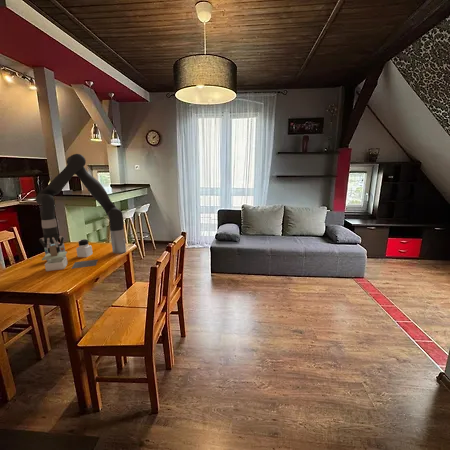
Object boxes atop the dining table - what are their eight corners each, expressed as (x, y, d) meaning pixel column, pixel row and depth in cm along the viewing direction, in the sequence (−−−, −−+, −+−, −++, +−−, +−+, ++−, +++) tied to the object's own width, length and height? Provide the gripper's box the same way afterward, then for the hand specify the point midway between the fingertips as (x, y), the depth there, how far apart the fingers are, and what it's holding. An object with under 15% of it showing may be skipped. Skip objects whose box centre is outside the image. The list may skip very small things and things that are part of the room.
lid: (67, 252, 166) (65, 242, 165) (62, 257, 156) (61, 247, 155) (47, 254, 163) (45, 244, 161) (41, 260, 153) (39, 249, 151)
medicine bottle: (92, 254, 186) (90, 238, 183) (86, 257, 179) (84, 241, 176) (83, 254, 187) (81, 238, 184) (77, 257, 180) (74, 241, 177)
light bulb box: (49, 262, 171) (46, 247, 168) (46, 260, 175) (43, 245, 172) (66, 258, 179) (64, 243, 177) (62, 256, 183) (60, 242, 181)
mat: (98, 259, 174) (98, 259, 174) (95, 266, 163) (95, 265, 163) (75, 262, 169) (75, 262, 169) (71, 269, 158) (71, 268, 158)
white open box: (67, 264, 167) (66, 257, 166) (64, 269, 158) (62, 262, 157) (50, 266, 164) (49, 259, 163) (46, 271, 155) (44, 264, 154)
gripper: (64, 224, 161) (68, 249, 165) (38, 226, 156) (43, 252, 160) (61, 226, 154) (65, 253, 158) (33, 228, 149) (39, 256, 153)
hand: (54, 252), depth 159 cm, fingers closed on lid, 3 cm apart
